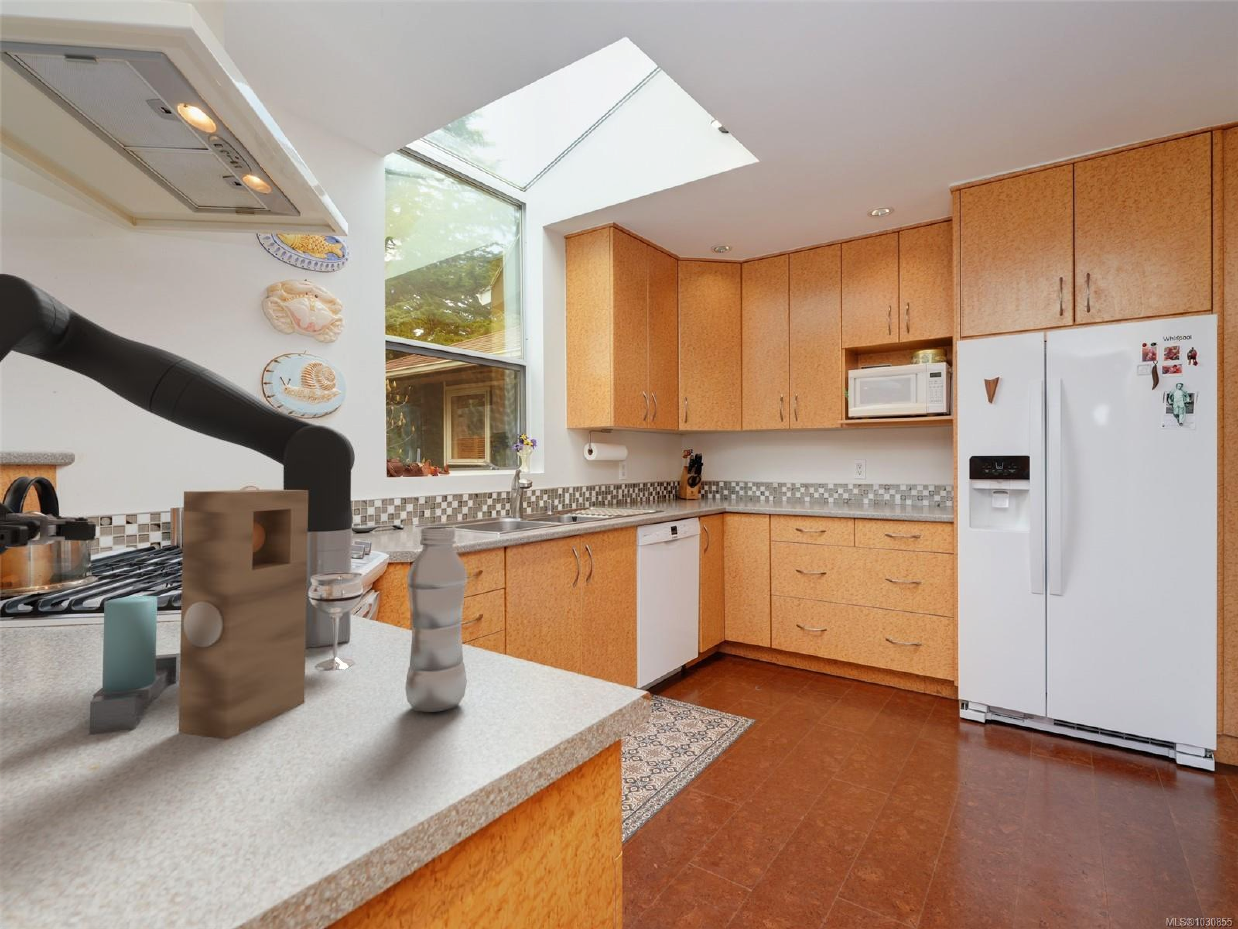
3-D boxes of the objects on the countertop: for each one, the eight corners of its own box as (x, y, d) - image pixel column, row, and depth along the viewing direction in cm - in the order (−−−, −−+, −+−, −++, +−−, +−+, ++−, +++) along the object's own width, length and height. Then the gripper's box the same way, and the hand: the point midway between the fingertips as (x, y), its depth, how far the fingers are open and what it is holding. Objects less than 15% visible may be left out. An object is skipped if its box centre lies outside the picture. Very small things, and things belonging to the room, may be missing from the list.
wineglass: (334, 654, 86) (336, 570, 87) (372, 660, 84) (374, 573, 84) (295, 669, 80) (296, 578, 80) (335, 675, 78) (336, 581, 78)
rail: (179, 678, 76) (180, 653, 76) (134, 729, 61) (135, 697, 61) (144, 682, 74) (144, 656, 74) (89, 734, 59) (90, 702, 60)
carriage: (162, 684, 67) (164, 594, 68) (148, 698, 63) (150, 602, 63) (110, 689, 66) (112, 597, 66) (93, 704, 61) (95, 606, 62)
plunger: (186, 552, 65) (187, 522, 65) (213, 548, 68) (213, 519, 68) (239, 554, 63) (240, 523, 63) (264, 551, 66) (265, 521, 66)
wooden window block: (174, 734, 60) (180, 491, 60) (260, 697, 70) (264, 489, 70) (223, 741, 58) (229, 492, 59) (304, 702, 68) (308, 490, 69)
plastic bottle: (477, 701, 69) (480, 526, 70) (442, 724, 63) (445, 531, 63) (430, 694, 71) (432, 524, 72) (391, 715, 65) (394, 529, 65)
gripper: (-134, 500, 64) (-22, 502, 60) (27, 496, 78) (127, 497, 74) (-136, 570, 64) (-24, 578, 60) (26, 553, 78) (126, 559, 74)
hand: (59, 533), depth 67 cm, fingers open, 6 cm apart
